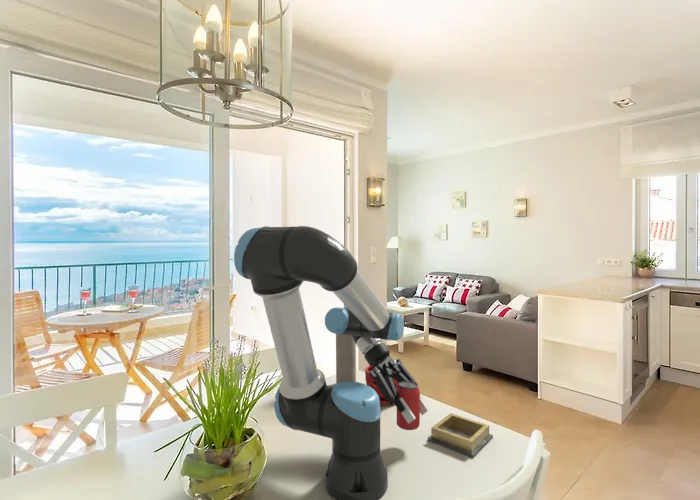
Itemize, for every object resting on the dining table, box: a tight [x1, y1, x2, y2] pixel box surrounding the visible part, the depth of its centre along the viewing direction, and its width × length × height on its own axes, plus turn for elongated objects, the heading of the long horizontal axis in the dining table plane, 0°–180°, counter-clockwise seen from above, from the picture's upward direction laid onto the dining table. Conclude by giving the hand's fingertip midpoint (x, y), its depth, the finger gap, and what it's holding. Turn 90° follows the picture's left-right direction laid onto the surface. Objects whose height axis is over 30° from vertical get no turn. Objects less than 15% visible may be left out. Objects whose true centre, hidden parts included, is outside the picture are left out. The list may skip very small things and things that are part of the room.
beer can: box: [396, 381, 421, 431], centre depth 112 cm, size 7×7×12 cm
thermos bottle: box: [335, 334, 357, 385], centre depth 158 cm, size 8×8×28 cm
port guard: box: [427, 413, 494, 459], centre depth 115 cm, size 14×14×4 cm
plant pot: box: [364, 365, 399, 406], centre depth 144 cm, size 13×13×12 cm
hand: (418, 416), depth 110 cm, fingers closed on beer can, 6 cm apart
